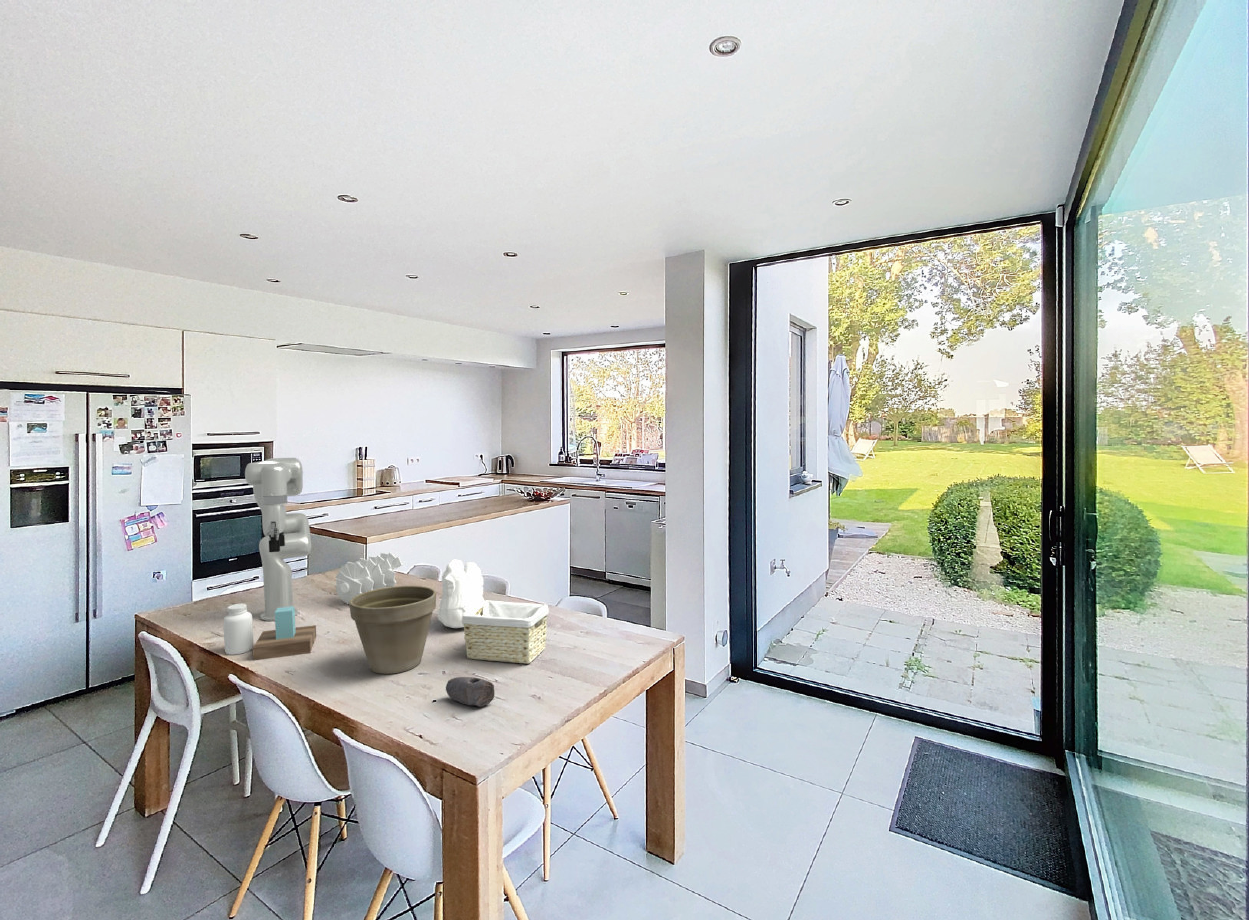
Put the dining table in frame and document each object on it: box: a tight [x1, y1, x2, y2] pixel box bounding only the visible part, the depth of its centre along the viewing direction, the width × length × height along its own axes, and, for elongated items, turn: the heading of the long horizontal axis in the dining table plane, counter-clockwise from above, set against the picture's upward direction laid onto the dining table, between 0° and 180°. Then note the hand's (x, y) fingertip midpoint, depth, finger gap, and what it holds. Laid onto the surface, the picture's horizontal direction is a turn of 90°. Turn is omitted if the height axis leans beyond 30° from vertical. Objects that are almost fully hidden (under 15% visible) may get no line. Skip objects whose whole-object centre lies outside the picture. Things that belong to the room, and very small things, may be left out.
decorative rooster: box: [437, 559, 485, 629], centre depth 222 cm, size 25×16×25 cm, turn 154°
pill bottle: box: [222, 603, 254, 656], centre depth 196 cm, size 8×8×15 cm
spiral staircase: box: [334, 551, 403, 605], centre depth 253 cm, size 18×18×25 cm
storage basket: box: [462, 599, 550, 664], centre depth 192 cm, size 24×16×15 cm
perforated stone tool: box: [445, 676, 496, 708], centre depth 159 cm, size 15×5×7 cm, turn 62°
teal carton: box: [274, 605, 296, 639], centre depth 198 cm, size 5×5×9 cm
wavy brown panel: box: [252, 625, 317, 661], centre depth 199 cm, size 16×16×4 cm
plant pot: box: [348, 585, 437, 675], centre depth 184 cm, size 25×25×22 cm
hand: (277, 549), depth 210 cm, fingers open, 9 cm apart
